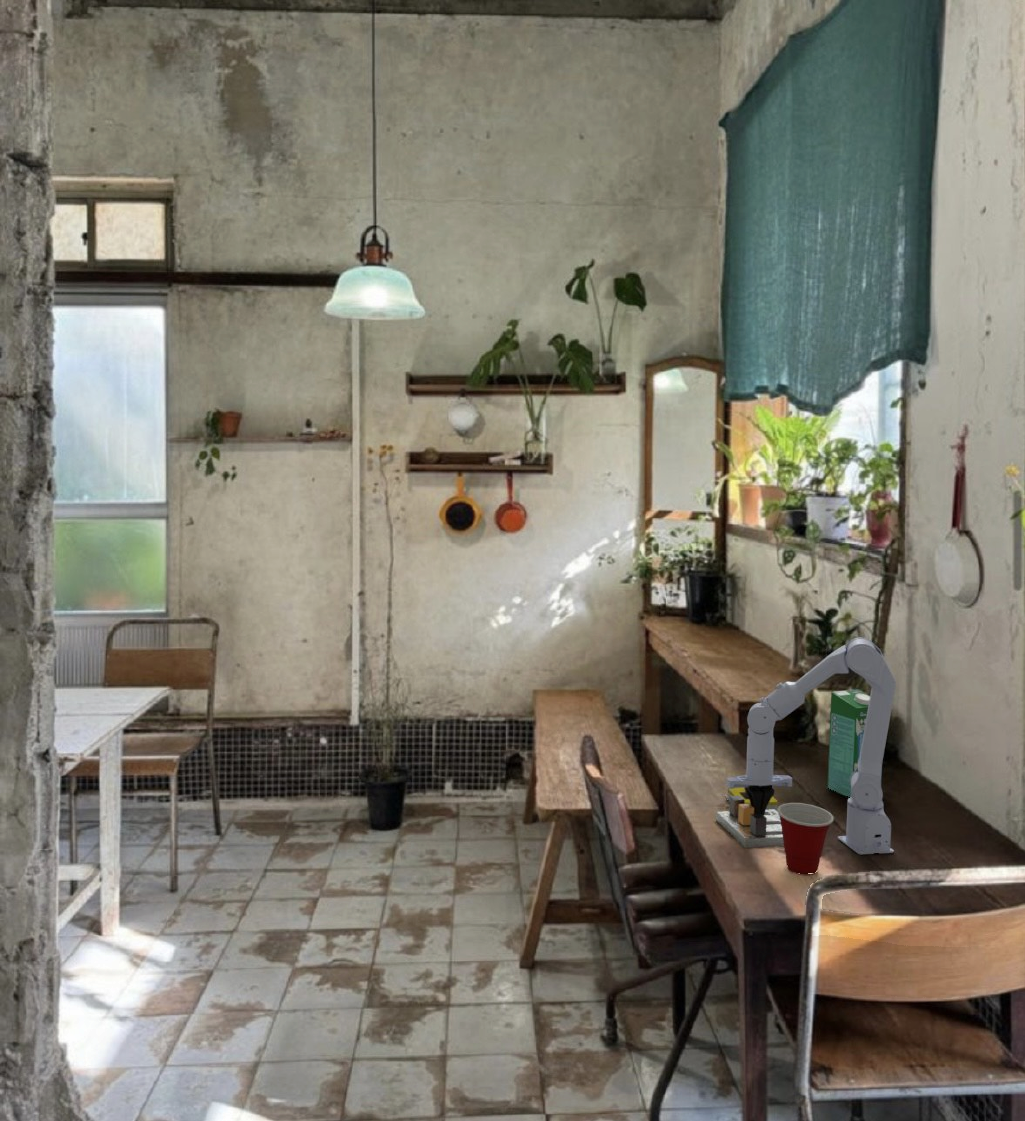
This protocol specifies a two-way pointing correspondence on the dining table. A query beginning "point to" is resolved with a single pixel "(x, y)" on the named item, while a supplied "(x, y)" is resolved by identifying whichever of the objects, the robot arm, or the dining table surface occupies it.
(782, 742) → the dining table surface
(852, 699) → the milk carton
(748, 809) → the breaker
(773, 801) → the emergency button
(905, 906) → the dining table surface
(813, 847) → the plastic cup
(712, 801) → the dining table surface
